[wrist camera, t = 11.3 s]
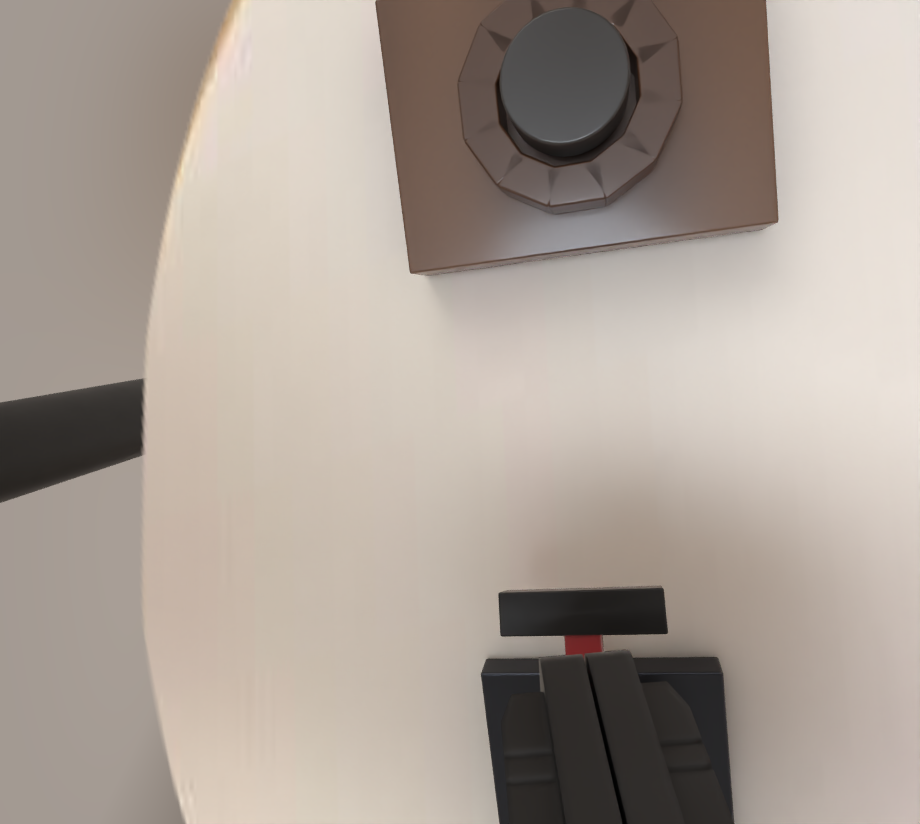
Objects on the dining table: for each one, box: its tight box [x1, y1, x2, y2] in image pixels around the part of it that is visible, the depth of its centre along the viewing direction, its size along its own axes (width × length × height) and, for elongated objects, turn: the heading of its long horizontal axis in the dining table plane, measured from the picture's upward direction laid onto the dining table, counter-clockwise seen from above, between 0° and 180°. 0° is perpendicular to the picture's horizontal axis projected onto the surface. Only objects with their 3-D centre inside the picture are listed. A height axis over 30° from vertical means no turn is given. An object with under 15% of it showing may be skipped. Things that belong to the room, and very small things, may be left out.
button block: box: [375, 0, 778, 276], centre depth 22 cm, size 12×9×4 cm
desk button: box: [500, 7, 630, 157], centre depth 20 cm, size 4×4×2 cm
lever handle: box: [498, 586, 668, 658], centre depth 20 cm, size 13×5×2 cm, turn 7°
